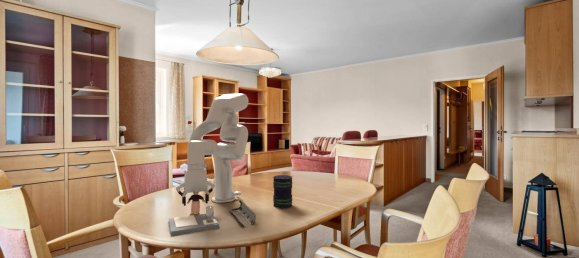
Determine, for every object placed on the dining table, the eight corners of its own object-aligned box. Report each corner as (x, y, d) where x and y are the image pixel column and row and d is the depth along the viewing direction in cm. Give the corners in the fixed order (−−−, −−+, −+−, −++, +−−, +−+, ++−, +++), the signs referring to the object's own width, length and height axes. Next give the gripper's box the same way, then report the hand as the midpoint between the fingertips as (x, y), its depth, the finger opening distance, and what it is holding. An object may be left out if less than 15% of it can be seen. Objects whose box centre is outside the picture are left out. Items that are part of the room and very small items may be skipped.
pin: (212, 219, 118) (212, 205, 118) (214, 222, 115) (214, 207, 115) (205, 220, 117) (205, 206, 117) (206, 223, 114) (206, 208, 114)
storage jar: (277, 209, 138) (277, 179, 138) (270, 204, 147) (270, 175, 147) (295, 207, 142) (295, 177, 142) (287, 202, 151) (287, 174, 151)
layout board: (211, 216, 128) (211, 212, 128) (219, 227, 114) (219, 223, 114) (168, 222, 120) (168, 217, 120) (171, 235, 106) (171, 230, 106)
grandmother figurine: (188, 216, 127) (187, 188, 127) (186, 214, 131) (186, 187, 131) (205, 214, 131) (205, 187, 131) (203, 211, 134) (203, 185, 134)
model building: (235, 214, 138) (251, 233, 116) (226, 206, 136) (240, 223, 114) (246, 203, 140) (263, 219, 118) (236, 194, 138) (252, 209, 116)
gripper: (213, 165, 137) (213, 200, 138) (175, 167, 130) (175, 204, 130) (216, 167, 131) (216, 204, 131) (176, 169, 123) (176, 208, 123)
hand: (195, 204), depth 130 cm, fingers open, 9 cm apart
